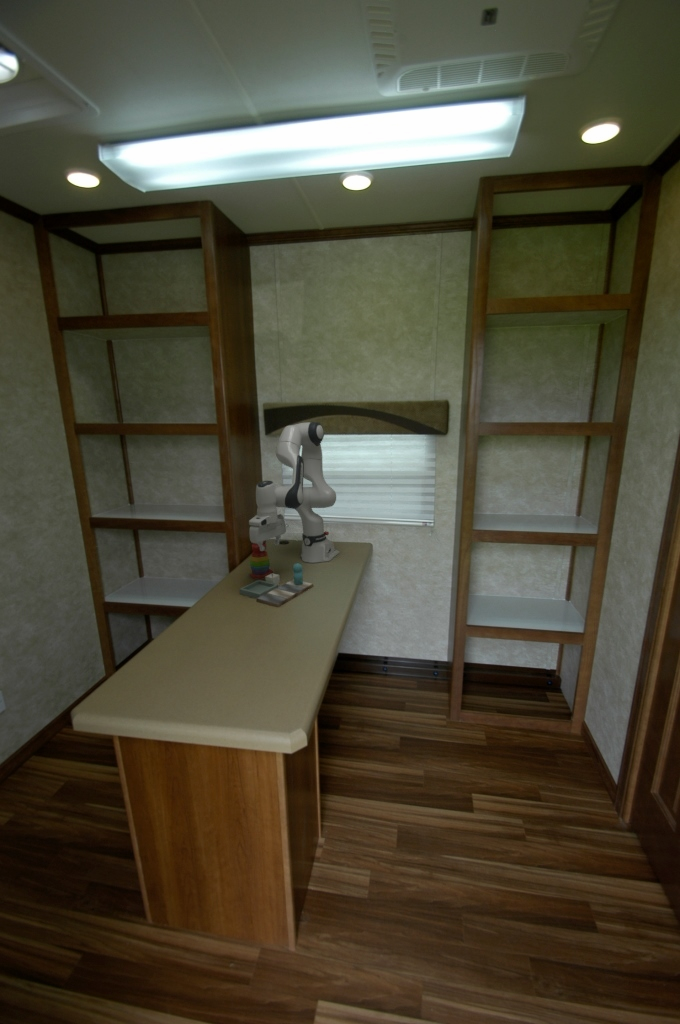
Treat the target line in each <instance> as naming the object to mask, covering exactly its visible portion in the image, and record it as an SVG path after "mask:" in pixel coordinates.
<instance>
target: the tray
mask: <svg viewBox="0 0 680 1024" xmlns="http://www.w3.org/2000/svg"><path fill="white" fill-rule="evenodd" d="M277 587H279V585H278V584H274V583H270V582H266V580H262V579H256V580H255V581H253V582H251V583H249V584H247V585H245V586H242V587H240V588H238V589H239V594H240V595H242V596H245V597H249V598H252V599H255V600H256V599H257V598H259V597H261V596H262V595H264V594H266V593H268V592H270V591H272V590H274V589H276V588H277Z"/></svg>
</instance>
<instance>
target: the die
mask: <svg viewBox="0 0 680 1024" xmlns="http://www.w3.org/2000/svg"><path fill="white" fill-rule="evenodd" d="M264 579H265V581H266V582H270V583H274V584H278V586H279V585H281V580H280V579H281V578H280V574H277V573H272V574H270V575H267V576H265V578H264Z"/></svg>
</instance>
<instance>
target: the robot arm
mask: <svg viewBox="0 0 680 1024" xmlns="http://www.w3.org/2000/svg"><path fill="white" fill-rule="evenodd" d="M324 436H325V430H324V426H322V424H321V423H320V422H318V421H311V422H300V423H295V424H291V425H286V426H285V427H284V428H283V429H282V431H281V434H280V436H279V439H278V442H277V445H276V449H275V456H276V458H277V460H278V461H279V462H280V463H281V464H283V466H286V467H289V468H291V469H292V479H291V481H292V484H290V485H288V486H286V485H283V486H281V485H276V484H275V482H273V480H263V481H260V482H258V483H257V484H256V485H255V486H256V487H255V503H256V505H257V509H256V514H255V515H254V517H252V518H250V519H249V520H248V525H249V526H250V527H249V533H248V534H249V540H250V542H251V544H252V543H257V544H258V546H259V547H260V551H264V550H265V551H266V549H265V547H264V546H263V545H262V544H263V541H265V542H266V541H268V540H270V539H273V538H275V539H274V541H273V544H274V546H278V545H280V540H281V535H284V534H286V532H287V527H286V521H285V517H284V516H283V514H282V513H279V514H278V509H277V508H287V509H293V510H295V511H296V512H297V513H298V516H299V517H300V520H301V525H302V536H301V537H302V543H301V554H300V557H301V561H303V562H304V563H313V564H315V563H316V564H317V563H323V562H325V563H326V562H330V561H331V560H332V559H334V558H335V557H336V556H338V554H340V551H339V550H338V549H335V543H334V542H333V541H331V540H330V539H328V538H327V536H329V534H330V533H329V531H324V527H325V526H324V524H325V523H324V518H323V517H322V515H319V514H318V513H315V512H314V511H313V509H324V508H330V507H333V506H334V505H335V504H336V501H337V494H336V491H335V490H334V488H332V487H331V486H330V485H329V484H328V483H327V481H326V480H325V479H326V478H325V477H324V472H323V450H322V446H321V444H322V442H323V440H324ZM300 452H301V455H300ZM304 479H305V480H307V481H309V482H311V484H312V485H311V486H304Z"/></svg>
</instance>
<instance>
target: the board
mask: <svg viewBox="0 0 680 1024" xmlns="http://www.w3.org/2000/svg"><path fill="white" fill-rule="evenodd" d="M312 588H314V584H313V583H311V582H307V581H303V584H302V585H295V584H294V578H292V579H291V580H289V581H287V582H284V583H283V584H280V586H279V585H278V587H277V588H276V589H274V590H272V591H270V592H268V593H266V594H264V595H262V596H261V597H259V598H257V599H256V598H255V600H256V602H258V603H261V604H264V605H268V606H272V607H276V608H280V607H281V605H282V606H283V605H285V604H286V603H288V602H290V601H292V600H293V599H296V598H297V597H298V596H300V595H302V594H304V593H305V592H306V591H308V589H309V590H310V589H312Z"/></svg>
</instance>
